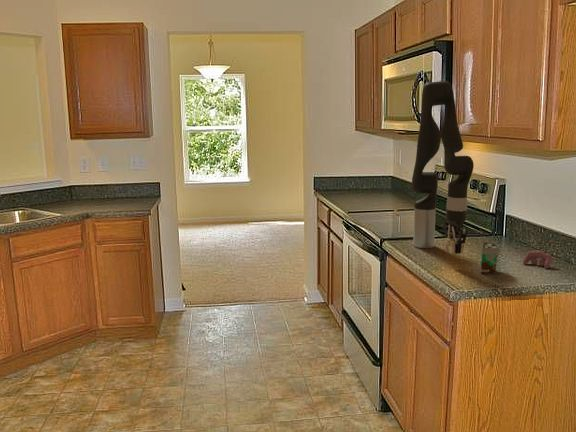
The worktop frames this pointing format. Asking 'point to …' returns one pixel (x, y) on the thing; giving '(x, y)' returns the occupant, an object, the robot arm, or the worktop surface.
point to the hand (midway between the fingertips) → (454, 251)
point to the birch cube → (452, 246)
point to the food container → (489, 257)
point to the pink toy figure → (536, 254)
